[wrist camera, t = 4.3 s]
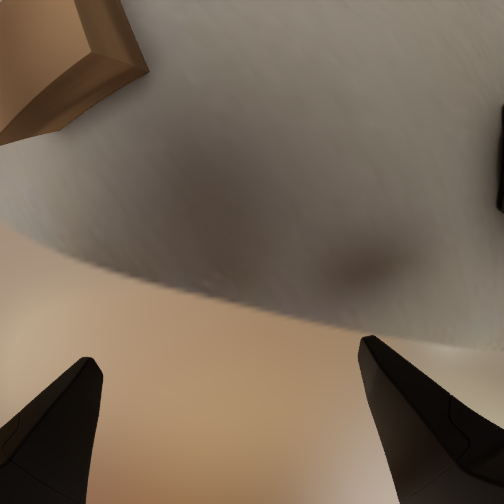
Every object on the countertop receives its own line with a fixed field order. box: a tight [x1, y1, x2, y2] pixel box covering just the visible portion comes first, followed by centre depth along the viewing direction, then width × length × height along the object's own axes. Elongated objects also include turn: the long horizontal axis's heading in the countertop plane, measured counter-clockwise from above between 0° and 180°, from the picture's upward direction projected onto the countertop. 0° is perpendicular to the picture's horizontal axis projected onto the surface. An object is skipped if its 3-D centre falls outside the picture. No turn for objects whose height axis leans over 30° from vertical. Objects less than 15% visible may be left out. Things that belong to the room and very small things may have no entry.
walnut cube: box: [0, 0, 149, 146], centre depth 6 cm, size 5×5×5 cm
